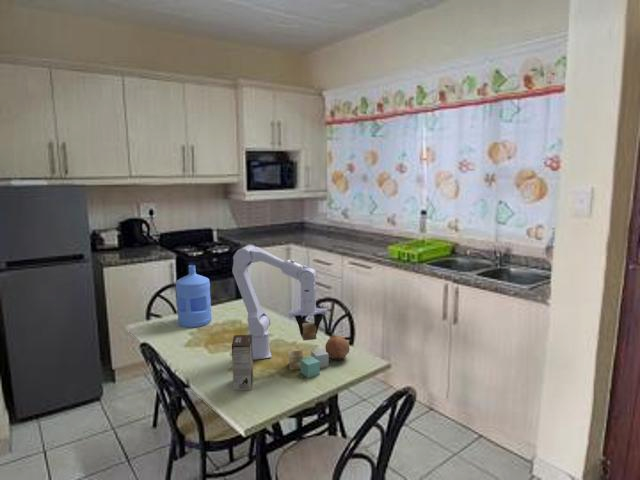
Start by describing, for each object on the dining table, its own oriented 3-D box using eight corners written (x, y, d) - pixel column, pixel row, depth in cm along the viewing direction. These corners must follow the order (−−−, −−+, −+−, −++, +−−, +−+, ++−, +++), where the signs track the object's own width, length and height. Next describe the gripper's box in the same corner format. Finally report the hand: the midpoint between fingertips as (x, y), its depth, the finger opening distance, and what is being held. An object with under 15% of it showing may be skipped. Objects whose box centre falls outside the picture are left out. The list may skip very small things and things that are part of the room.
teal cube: (308, 378, 156) (307, 364, 155) (300, 372, 160) (300, 359, 159) (319, 374, 158) (319, 361, 157) (312, 369, 162) (312, 356, 162)
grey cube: (316, 368, 163) (316, 356, 162) (311, 363, 167) (311, 351, 166) (328, 366, 165) (328, 353, 164) (323, 361, 169) (323, 348, 168)
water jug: (186, 316, 220) (183, 261, 216) (216, 317, 218) (214, 262, 213) (172, 327, 205) (168, 269, 200) (204, 329, 203) (201, 270, 198)
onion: (330, 362, 175) (324, 337, 177) (353, 356, 174) (346, 331, 176) (327, 364, 165) (321, 337, 168) (351, 357, 165) (344, 331, 167)
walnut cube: (303, 340, 166) (303, 327, 166) (301, 335, 171) (300, 323, 170) (316, 339, 168) (316, 326, 167) (313, 334, 172) (313, 322, 172)
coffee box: (235, 377, 156) (233, 334, 153) (253, 377, 156) (252, 334, 154) (232, 390, 147) (230, 345, 144) (252, 389, 147) (250, 344, 145)
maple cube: (289, 369, 162) (289, 356, 161) (289, 363, 167) (289, 351, 166) (302, 369, 163) (302, 356, 162) (302, 363, 167) (302, 350, 167)
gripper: (291, 304, 161) (291, 339, 164) (329, 301, 165) (329, 335, 167) (288, 298, 168) (288, 332, 170) (324, 295, 171) (324, 328, 174)
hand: (308, 333), depth 169 cm, fingers closed on walnut cube, 5 cm apart
